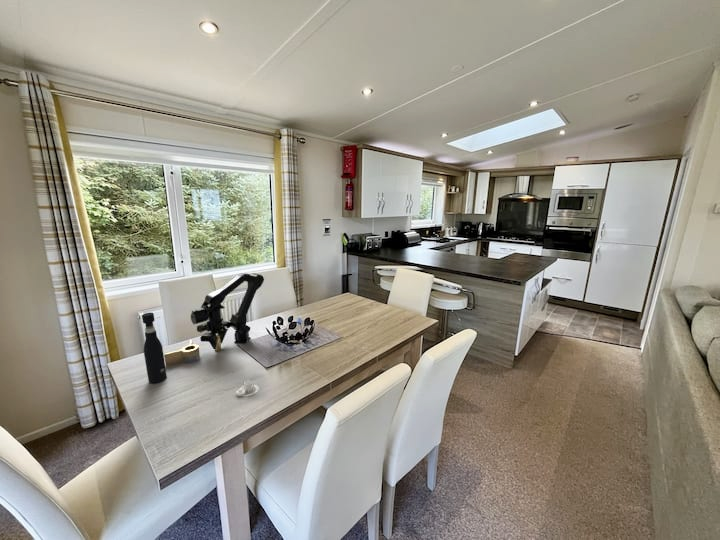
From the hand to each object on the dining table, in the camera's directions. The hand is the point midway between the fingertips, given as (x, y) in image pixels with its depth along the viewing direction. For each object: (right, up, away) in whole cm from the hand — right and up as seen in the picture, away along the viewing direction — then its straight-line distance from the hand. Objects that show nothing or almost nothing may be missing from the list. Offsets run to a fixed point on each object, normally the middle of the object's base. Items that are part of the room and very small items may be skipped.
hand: (217, 346), depth 149 cm
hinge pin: (0, -2, 0) cm, 2 cm away
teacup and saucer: (+25, -10, -31) cm, 41 cm away
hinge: (-11, -4, -8) cm, 14 cm away
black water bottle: (-13, -8, -25) cm, 30 cm away
